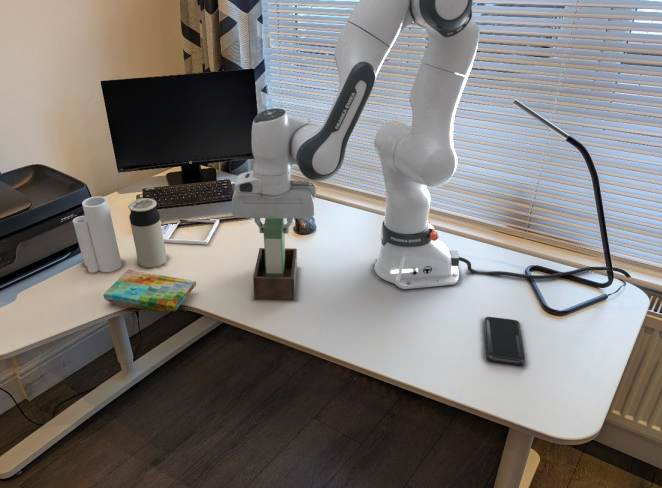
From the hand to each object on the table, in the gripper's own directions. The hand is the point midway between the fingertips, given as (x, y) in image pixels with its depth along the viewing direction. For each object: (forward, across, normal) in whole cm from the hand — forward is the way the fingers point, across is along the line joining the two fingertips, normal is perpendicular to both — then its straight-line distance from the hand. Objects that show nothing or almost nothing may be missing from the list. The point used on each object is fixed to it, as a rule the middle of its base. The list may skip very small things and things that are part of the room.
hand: (274, 232), depth 139 cm
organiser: (+16, 0, 0) cm, 16 cm away
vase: (+16, +50, -8) cm, 54 cm away
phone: (+16, -54, +22) cm, 60 cm away
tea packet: (+5, 0, -1) cm, 5 cm away
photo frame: (+16, +31, -29) cm, 45 cm away
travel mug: (+16, +36, -11) cm, 41 cm away
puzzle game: (+16, +31, +8) cm, 36 cm away
